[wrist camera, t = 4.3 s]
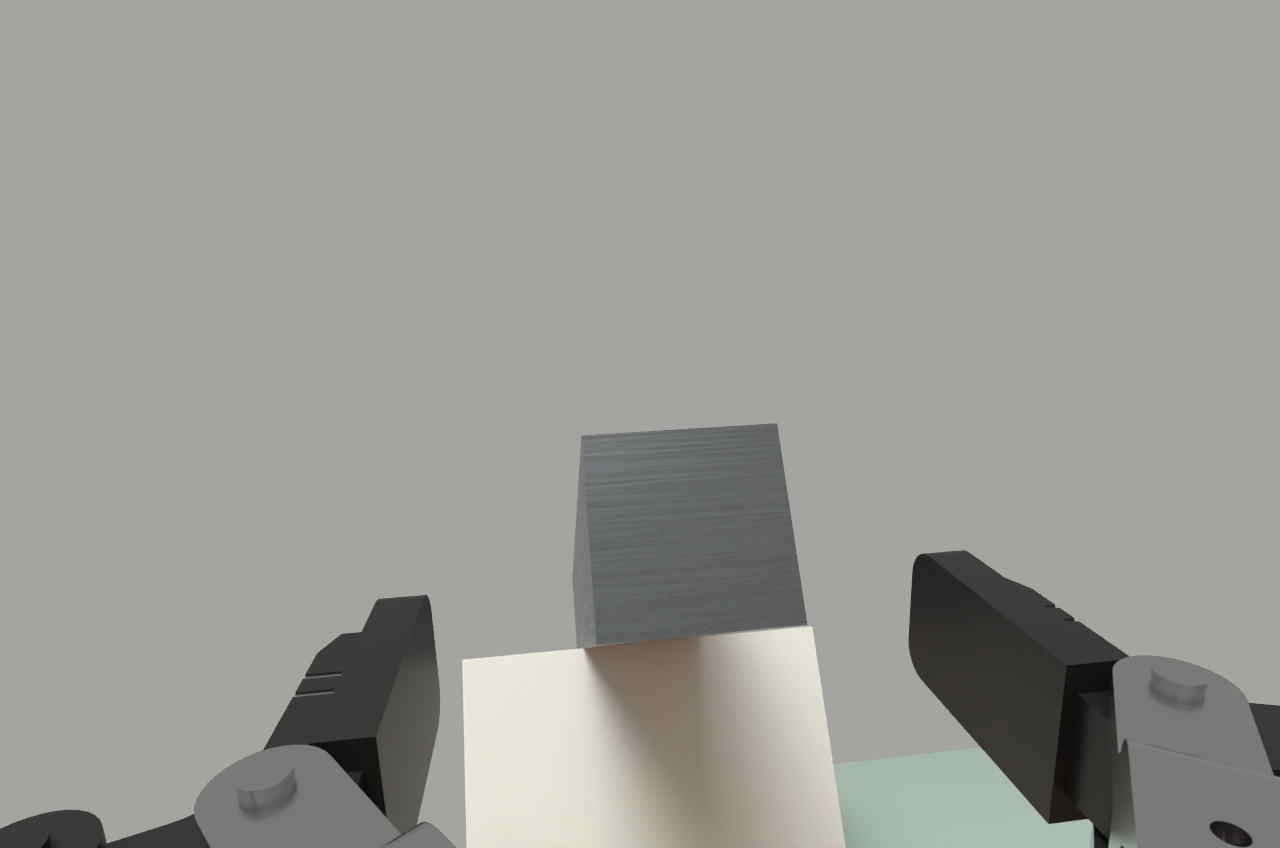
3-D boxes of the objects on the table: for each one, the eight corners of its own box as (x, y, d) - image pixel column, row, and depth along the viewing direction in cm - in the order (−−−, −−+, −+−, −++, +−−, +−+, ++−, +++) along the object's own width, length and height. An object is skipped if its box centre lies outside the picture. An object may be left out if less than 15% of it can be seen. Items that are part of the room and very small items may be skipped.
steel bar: (807, 625, 11) (777, 423, 11) (596, 645, 10) (581, 435, 11) (648, 643, 31) (641, 571, 32) (577, 650, 31) (572, 577, 32)
